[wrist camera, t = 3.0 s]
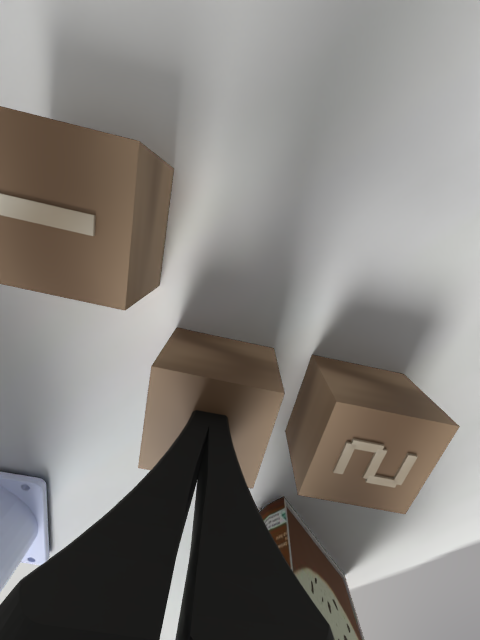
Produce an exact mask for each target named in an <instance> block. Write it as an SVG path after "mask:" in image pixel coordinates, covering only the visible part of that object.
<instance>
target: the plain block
mask: <svg viewBox="0 0 480 640" xmlns="http://www.w3.org/2000/svg"><path fill="white" fill-rule="evenodd" d="M284 394H285V393H284V389H283V384H282V380H281V376H280V372H279V368H278V364H277V359H276V355H275V351H274V348H270V347H265V346H261V345H256V344H251V343H247V342H242V341H237V340H233V339H228V338H223V337H219V336H214V335H209V334H205V333H200V332H195V331H191V330H186V329H181V328H176V329H175V331H174V332H173V334H172V335H171V337H170V338H169V340H168V342H167V343H166V345H165V346H164V348H163V349H162V351H161V352H160V354H159V355H158V357H157V358H156V360H155V361H154V363H153V365H152V366H151V373H150V381H149V388H148V396H147V403H146V411H145V419H144V426H143V434H142V442H141V449H140V457H139V464H138V468H142V469H147V470H152V469H153V467H154V466H155V465H156V464H157V463H158V461H159V460H160V459H161V458H162V457H163V456H164V454H165V453H166V452H167V451H168V449H169V448H170V447H171V445H172V444H173V443H174V441H175V440H176V439H177V437H178V436H179V435H180V433H181V432H182V430H183V429H184V427H185V425H186V424H187V422H188V420H189V418H190V417H191V414H192V412H193V411H195V410H199V411H204V412H210V413H215V414H221V415H226V416H227V417H228V422H229V429H230V433H231V438H232V442H233V446H234V449H235V452H236V455H237V459H238V462H239V465H240V468H241V471H242V473H243V476H244V478H245V481H246V484H247V486H248V488H253V487H254V484H255V481H256V478H257V475H258V472H259V469H260V466H261V463H262V460H263V457H264V454H265V451H266V448H267V445H268V442H269V439H270V436H271V433H272V430H273V427H274V424H275V421H276V418H277V415H278V412H279V409H280V406H281V403H282V400H283V397H284Z"/></svg>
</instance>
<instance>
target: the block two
mask: <svg viewBox="0 0 480 640" xmlns="http://www.w3.org/2000/svg"><path fill="white" fill-rule="evenodd" d="M459 427H460V426H459V425H457V424H456V423H455V422H454V421H453V420H452V419H451V418H450V417H449V416H448V415H447V414H446V413H445V412H444V411H443V410H442V409H440V408H439V407H438V406H437V405H436V404H435V403H434V402H433V401H432V400H431V399H430V398H429V397H428V396H427V395H426V394H424V393H423V392H422V391H421V390H420V389H419V388H418V387H417V386H416V385H415V384H414V383H413V382H412V381H411V380H410V379H409V378H407V377H406V376H405V375H404V374H401V373H396V372H392V371H387V370H382V369H377V368H373V367H368V366H363V365H359V364H354V363H349V362H344V361H340V360H335V359H330V358H325V357H321V356H316V355H312V356H311V359H310V362H309V365H308V368H307V370H306V373H305V376H304V379H303V382H302V385H301V388H300V390H299V393H298V396H297V399H296V402H295V405H294V408H293V410H292V413H291V416H290V419H289V422H288V425H287V428H286V430H285V432H286V437H287V442H288V447H289V452H290V457H291V462H292V467H293V472H294V478H295V483H296V488H297V493H298V495H301V496H306V497H312V498H317V499H323V500H329V501H334V502H340V503H345V504H351V505H357V506H362V507H368V508H374V509H379V510H385V511H390V512H396V513H402V514H406V512H407V510H408V509H409V507H410V506H411V504H412V502H413V501H414V499H415V498H416V496H417V494H418V493H419V491H420V489H421V488H422V486H423V485H424V483H425V481H426V480H427V478H428V477H429V475H430V473H431V472H432V470H433V468H434V467H435V465H436V464H437V462H438V460H439V459H440V457H441V456H442V454H443V452H444V451H445V449H446V448H447V446H448V444H449V443H450V441H451V439H452V438H453V436H454V435H455V433H456V431H457V430H458V428H459Z"/></svg>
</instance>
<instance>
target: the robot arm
mask: <svg viewBox="0 0 480 640" xmlns="http://www.w3.org/2000/svg"><path fill="white" fill-rule="evenodd" d="M197 479H198V480H197ZM196 483H197V490H196V500H195V511H194V521H193V531H192V541H191V550H190V558H189V564H188V570H187V576H186V582H185V588H184V594H183V599H182V605H181V611H180V617H179V623H178V628H177V634H176V640H335V639H334V636H333V633H332V630H331V627H330V625H329V623H328V622H327V620H326V619H325V618H324V616H323V615H322V614H321V612H320V611H319V609H318V608H317V607H316V605H315V604H314V602H313V601H312V599H311V598H310V596H309V595H308V594H307V592H306V591H305V589H304V588H303V586H302V585H301V583H300V582H299V580H298V579H297V577H296V575H295V574H294V572H293V571H292V569H291V568H290V566H289V565H288V563H287V561H286V560H285V558H284V556H283V555H282V553H281V551H280V549H279V548H278V546H277V544H276V542H275V541H274V539H273V537H272V535H271V534H270V532H269V530H268V528H267V527H266V525H265V523H264V521H263V519H262V517H261V515H260V513H259V511H258V509H257V506H256V504H255V502H254V500H253V498H252V496H251V493H250V491H249V489H248V486H247V484H246V481H245V478H244V476H243V473H242V471H241V468H240V465H239V462H238V459H237V455H236V452H235V449H234V446H233V442H232V438H231V433H230V429H229V422H228V417H227V416H226V415H221V414H215V413H210V412H204V411H199V410H195V411H193V412H192V414H191V417H190V418H189V420H188V422H187V424H186V425H185V427H184V429H183V430H182V432H181V433H180V435H179V436H178V437H177V439H176V440H175V441H174V443H173V444H172V445H171V447H170V448H169V449H168V451H167V452H166V453H165V454H164V456H163V457H162V458H161V459H160V460H159V461H158V463H157V464H156V465H155V466H154V467H153V469H152V470H151V471H150V472H149V473H148V474H147V475H146V476H145V477H144V478H143V479H142V480H141V481H140V482H139V483H138V484H137V486H136V487H135V488H134V489H133V490H132V491H130V492H129V493H128V494H127V495H126V496H125V497H124V498H123V499H122V500H121V501H120V502H119V503H118V504H117V505H116V506H115V507H113V508H112V509H111V510H110V511H109V512H108V513H107V514H106V515H104V516H103V517H102V518H101V519H100V520H98V521H97V522H96V523H95V524H94V525H92V526H91V527H90V528H89V529H88V530H86V531H85V532H84V533H83V534H81V535H80V536H79V537H78V538H77V539H75V540H74V541H73V542H72V543H70V544H69V545H68V546H66V547H65V548H64V549H62V550H61V551H60V552H58V553H57V554H56V555H54V556H53V557H51V558H50V559H49V535H48V513H47V490H46V483H45V481H44V480H43V479H41V478H37V477H31V476H24V475H18V474H12V473H6V472H0V592H1V591H2V589H3V588H4V586H5V585H6V583H7V582H8V580H9V579H10V577H11V576H12V574H13V573H14V571H15V570H16V568H17V567H18V565H19V564H20V562H22V563H29V564H36V565H41V566H39V567H38V568H36V569H35V570H34V571H32V572H31V573H30V574H28V575H27V576H25V577H24V578H23V579H22V580H20V582H19V583H18V584H17V585H16V586H15V587H14V589H13V590H12V591H11V592H10V593H9V595H8V596H7V597H6V598H5V600H4V601H3V602H2V603H1V605H0V640H159V639H160V634H161V629H162V624H163V619H164V614H165V609H166V604H167V600H168V595H169V590H170V585H171V580H172V575H173V570H174V565H175V560H176V556H177V552H178V548H179V544H180V540H181V537H182V533H183V529H184V526H185V522H186V519H187V515H188V511H189V508H190V504H191V501H192V497H193V494H194V490H195V486H196ZM48 559H49V560H48Z"/></svg>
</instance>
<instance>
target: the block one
mask: <svg viewBox="0 0 480 640" xmlns="http://www.w3.org/2000/svg"><path fill="white" fill-rule="evenodd" d="M173 172H174V168H172V167H171V166H170V165H169V164H167V163H166V162H165V161H164V160H162V159H161V158H160V157H159V156H157V155H156V154H155V153H154V152H152V151H151V150H150V149H149V148H147V147H146V146H145V145H143V144H142V143H141V142H140V141H137V140H133V139H129V138H125V137H121V136H117V135H113V134H109V133H105V132H101V131H97V130H93V129H89V128H85V127H81V126H77V125H73V124H69V123H65V122H61V121H57V120H53V119H49V118H45V117H41V116H37V115H33V114H29V113H25V112H21V111H17V110H13V109H9V108H5V107H1V106H0V284H4V285H8V286H13V287H18V288H22V289H27V290H32V291H36V292H41V293H46V294H51V295H55V296H60V297H65V298H69V299H74V300H79V301H83V302H88V303H93V304H97V305H102V306H107V307H111V308H116V309H121V310H126V309H128V308H129V307H130V306H132V305H133V304H135V303H136V302H137V301H139V300H140V299H142V298H143V297H144V296H146V295H147V294H149V293H150V292H151V291H153V290H154V289H156V288H157V287H158V286H159V285H160V277H161V269H162V261H163V253H164V244H165V236H166V228H167V220H168V212H169V204H170V196H171V188H172V180H173Z"/></svg>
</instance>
